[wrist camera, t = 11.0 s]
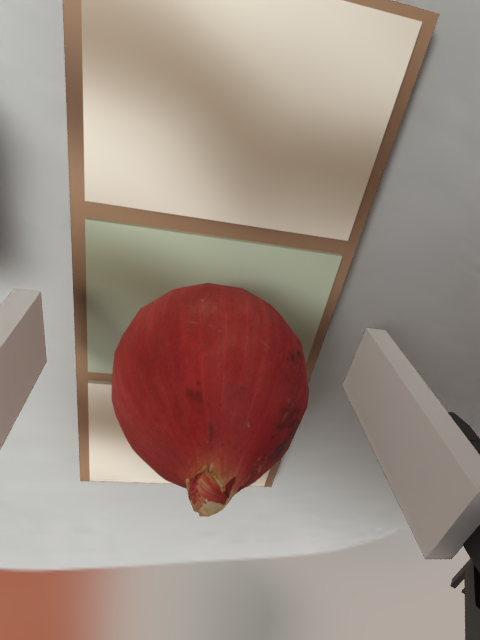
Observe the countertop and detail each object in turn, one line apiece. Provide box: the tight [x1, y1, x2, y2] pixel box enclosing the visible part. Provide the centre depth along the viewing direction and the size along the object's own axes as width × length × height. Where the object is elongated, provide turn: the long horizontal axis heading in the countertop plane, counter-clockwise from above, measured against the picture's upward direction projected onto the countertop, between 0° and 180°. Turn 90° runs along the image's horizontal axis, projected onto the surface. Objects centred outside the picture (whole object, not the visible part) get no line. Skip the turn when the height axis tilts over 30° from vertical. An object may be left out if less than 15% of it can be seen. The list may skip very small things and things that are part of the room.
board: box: [63, 0, 439, 487], centre depth 16 cm, size 21×10×1 cm, turn 169°
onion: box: [112, 283, 309, 516], centre depth 12 cm, size 6×6×8 cm
